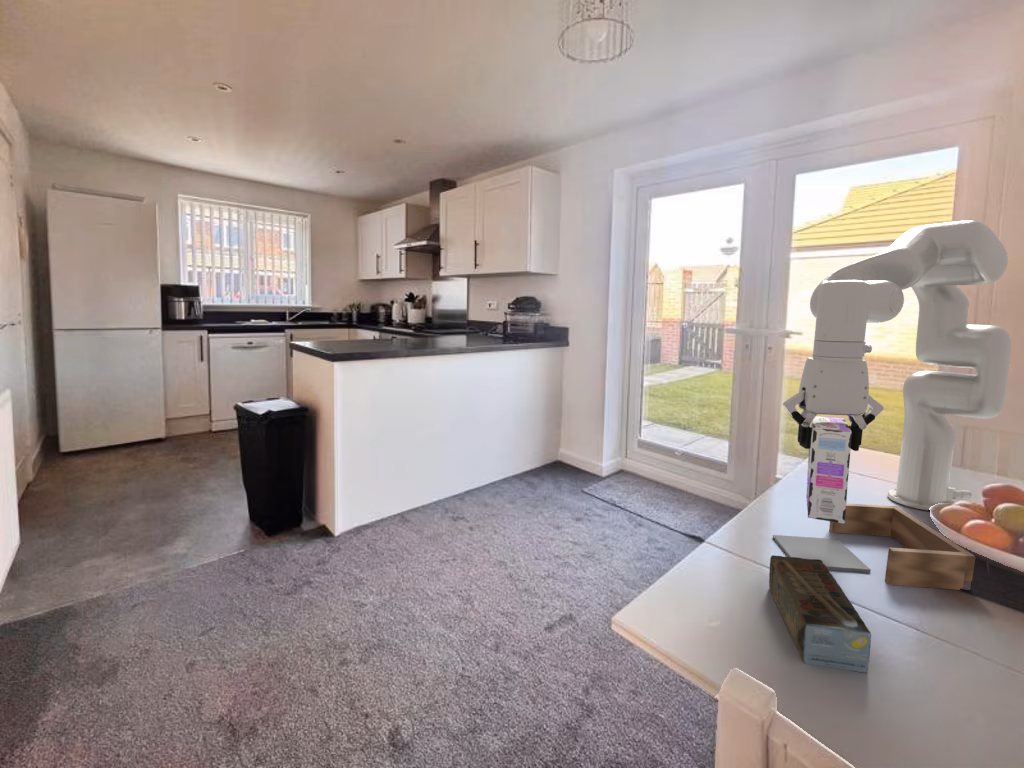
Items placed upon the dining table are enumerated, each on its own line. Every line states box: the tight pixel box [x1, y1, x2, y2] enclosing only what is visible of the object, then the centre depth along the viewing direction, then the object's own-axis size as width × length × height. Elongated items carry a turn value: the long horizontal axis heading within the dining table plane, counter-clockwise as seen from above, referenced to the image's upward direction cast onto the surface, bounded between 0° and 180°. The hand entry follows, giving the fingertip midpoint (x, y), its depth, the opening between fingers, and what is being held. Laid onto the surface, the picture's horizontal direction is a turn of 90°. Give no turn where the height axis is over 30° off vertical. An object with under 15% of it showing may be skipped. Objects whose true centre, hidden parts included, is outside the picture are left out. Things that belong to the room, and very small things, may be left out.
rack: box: [828, 502, 976, 591], centre depth 93 cm, size 12×21×6 cm, turn 171°
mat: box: [772, 534, 872, 574], centre depth 95 cm, size 12×12×1 cm
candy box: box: [805, 415, 852, 524], centre depth 92 cm, size 14×6×16 cm, turn 151°
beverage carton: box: [768, 555, 872, 674], centre depth 73 cm, size 8×19×7 cm, turn 165°
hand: (828, 447), depth 92 cm, fingers closed on candy box, 7 cm apart
